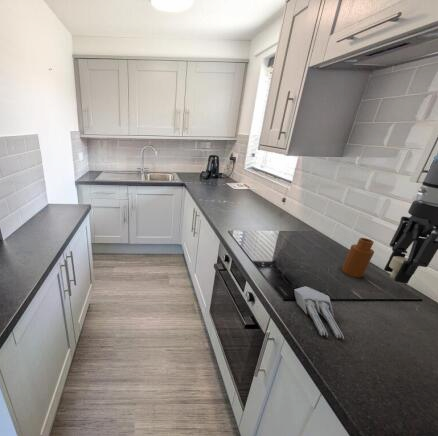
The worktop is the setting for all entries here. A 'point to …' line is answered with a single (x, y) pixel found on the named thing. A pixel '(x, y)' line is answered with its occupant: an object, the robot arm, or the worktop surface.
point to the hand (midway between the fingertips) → (395, 276)
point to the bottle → (358, 258)
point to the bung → (396, 264)
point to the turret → (317, 309)
